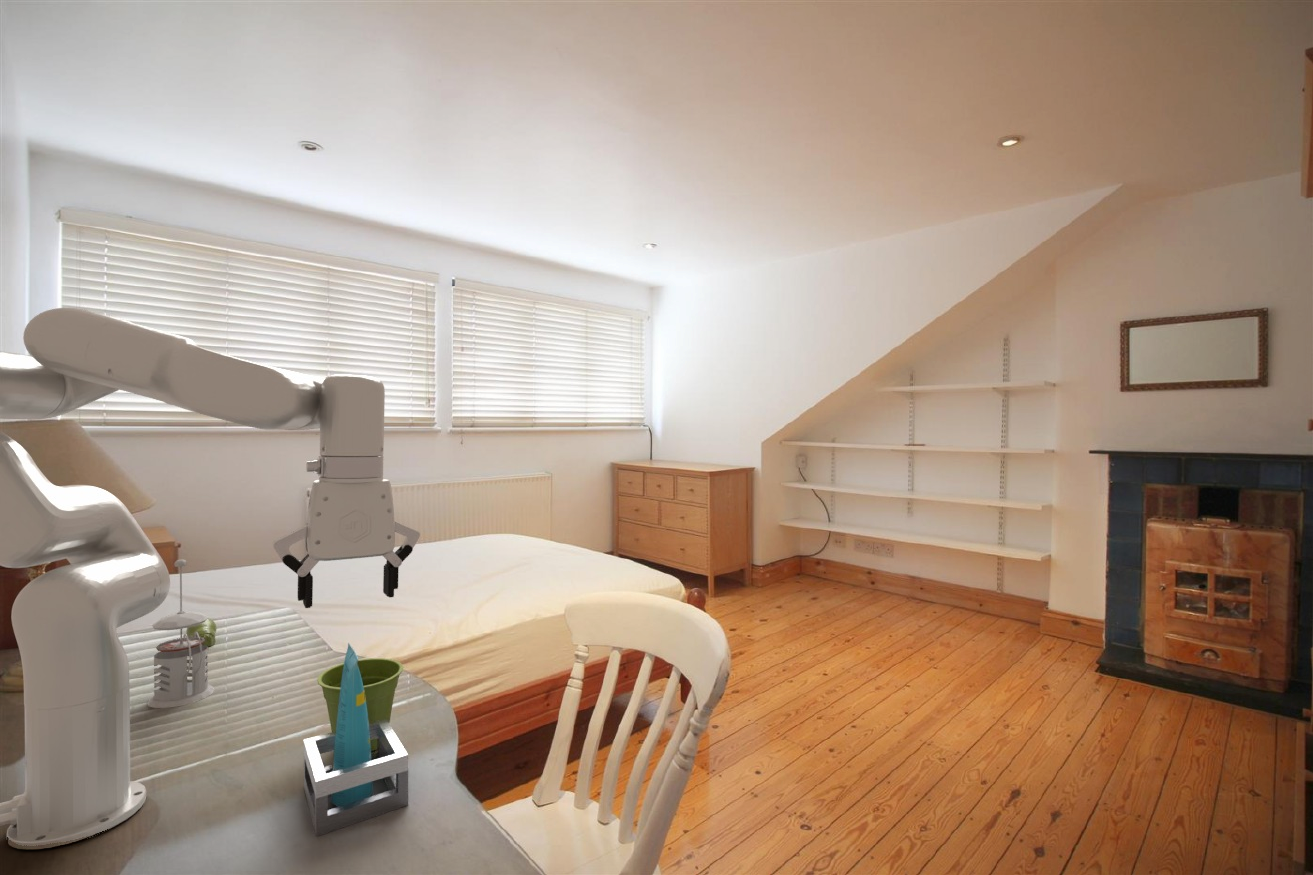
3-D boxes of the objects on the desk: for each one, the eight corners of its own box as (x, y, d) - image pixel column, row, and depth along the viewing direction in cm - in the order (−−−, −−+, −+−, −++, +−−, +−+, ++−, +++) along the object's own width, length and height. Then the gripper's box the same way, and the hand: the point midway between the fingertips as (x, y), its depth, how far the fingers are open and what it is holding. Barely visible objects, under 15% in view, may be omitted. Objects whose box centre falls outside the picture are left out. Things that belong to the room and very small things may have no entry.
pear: (214, 612, 146) (219, 629, 139) (214, 633, 147) (219, 651, 139) (185, 616, 142) (188, 634, 135) (184, 638, 143) (188, 656, 136)
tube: (380, 802, 79) (379, 654, 79) (338, 817, 76) (338, 663, 76) (364, 778, 85) (363, 639, 85) (325, 791, 82) (324, 647, 82)
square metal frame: (316, 836, 73) (316, 781, 73) (303, 787, 83) (303, 739, 83) (408, 805, 79) (408, 754, 79) (386, 763, 89) (386, 718, 89)
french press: (202, 681, 119) (201, 552, 119) (228, 695, 112) (227, 558, 112) (138, 699, 111) (137, 560, 111) (162, 715, 104) (161, 568, 104)
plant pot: (308, 771, 87) (307, 691, 87) (328, 732, 98) (328, 661, 98) (398, 759, 90) (397, 682, 90) (408, 722, 101) (407, 654, 101)
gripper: (277, 472, 72) (274, 617, 72) (427, 470, 83) (425, 597, 83) (272, 469, 79) (269, 603, 79) (413, 467, 89) (410, 585, 89)
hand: (349, 600), depth 81 cm, fingers open, 9 cm apart
